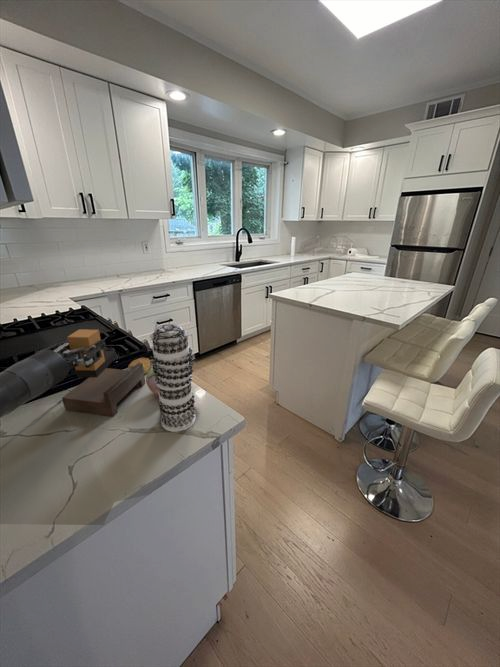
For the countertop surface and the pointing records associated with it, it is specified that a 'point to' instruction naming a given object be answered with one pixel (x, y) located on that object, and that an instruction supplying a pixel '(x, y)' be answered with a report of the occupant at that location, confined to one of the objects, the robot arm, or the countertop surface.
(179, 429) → the decorative candle
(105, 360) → the two-tone stepped block
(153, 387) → the decorative fruit
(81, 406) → the dark wooden riser stand
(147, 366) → the pastry
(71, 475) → the countertop surface
